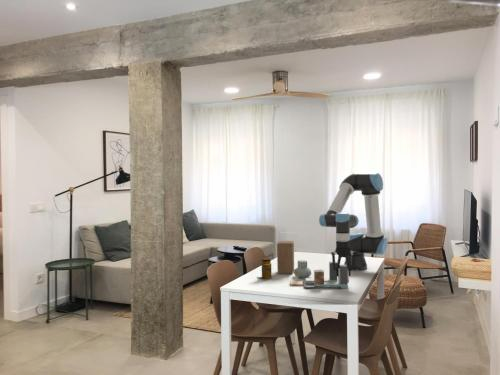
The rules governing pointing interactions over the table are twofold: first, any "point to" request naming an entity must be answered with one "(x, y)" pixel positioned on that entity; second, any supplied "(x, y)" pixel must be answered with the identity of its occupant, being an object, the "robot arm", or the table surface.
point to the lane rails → (319, 286)
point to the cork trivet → (296, 283)
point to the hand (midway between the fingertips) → (343, 282)
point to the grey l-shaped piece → (343, 278)
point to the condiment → (266, 269)
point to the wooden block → (285, 257)
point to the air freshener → (302, 270)
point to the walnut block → (318, 276)
